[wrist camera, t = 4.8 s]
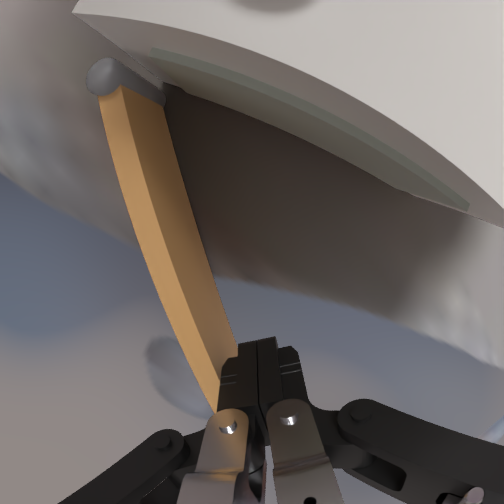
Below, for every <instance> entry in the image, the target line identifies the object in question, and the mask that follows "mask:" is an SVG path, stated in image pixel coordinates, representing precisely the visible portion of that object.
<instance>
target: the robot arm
mask: <svg viewBox="0 0 504 504" xmlns="http://www.w3.org/2000/svg"><path fill="white" fill-rule="evenodd" d="M269 445H271V451H272V457H273V463H274V469H273V478H274V484H275V490H276V496H277V502H278V504H344V501H343V498H342V495H341V492H340V489H339V486H338V484H337V480H336V477H335V474H334V471H333V468H342V469H343V470H344V471H345V472H346V473H348V474H350V475H352V476H353V477H355V478H357V479H359V480H361V481H362V482H365V483H366V484H368V485H370V486H372V487H374V488H376V489H378V490H380V491H382V492H384V493H386V494H388V495H390V496H392V497H394V498H396V499H398V500H401V501H403V502H405V503H407V504H504V446H502V445H498V444H495V443H491V442H488V441H484V440H481V439H478V438H474V437H471V436H468V435H465V434H462V433H458V432H456V431H453V430H450V429H447V428H444V427H441V426H438V425H435V424H433V423H430V422H427V421H424V420H422V419H419V418H416V417H414V416H411V415H408V414H406V413H403V412H401V411H398V410H396V409H393V408H391V407H388V406H385V405H383V404H381V403H379V402H376V401H374V400H370V399H358V400H354V401H351V402H349V403H347V404H346V405H345V406H343V407H342V409H341V410H340V411H328V410H322V409H319V408H317V407H315V406H314V405H312V404H311V403H310V401H309V399H308V396H307V391H306V386H305V382H304V378H303V373H302V368H301V364H300V360H299V355H298V352H297V351H296V350H295V349H294V348H292V346H288V347H283V348H278V344H277V340H276V337H275V336H274V337H270V338H265V339H260V340H256V341H250V342H245V343H240V344H238V356H237V357H231V358H228V359H227V360H226V362H225V363H224V365H223V366H222V370H221V378H220V387H219V395H218V404H217V412H216V413H215V414H214V415H213V416H212V417H211V418H210V419H209V420H208V422H207V425H206V428H205V429H203V430H201V431H198V432H196V433H192V434H189V435H186V436H182V435H181V433H179V432H178V431H176V430H172V429H164V430H160V431H158V432H156V433H154V434H152V435H151V436H150V437H149V438H147V439H146V440H145V441H144V442H143V443H141V444H140V445H138V446H137V447H136V448H135V449H133V450H132V451H131V452H129V453H128V454H127V455H126V456H124V457H123V458H122V459H120V460H119V461H118V462H117V463H115V464H114V465H112V466H111V467H110V468H108V469H107V470H106V471H104V472H103V473H102V474H100V475H99V476H97V477H96V478H95V479H93V480H92V481H90V482H89V483H87V484H86V485H85V486H83V487H82V488H80V489H79V490H77V491H76V492H75V493H73V494H72V495H70V496H69V497H67V498H66V499H64V500H63V501H61V502H59V503H58V504H265V489H266V469H267V462H266V459H265V446H269ZM163 480H164V481H163ZM162 481H163V482H162ZM161 482H162V483H161ZM157 485H158V486H157ZM156 486H157V487H156ZM151 490H152V491H151ZM150 491H151V492H150ZM146 494H147V495H146ZM145 495H146V496H145Z"/></svg>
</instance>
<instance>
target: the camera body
mask: <svg viewBox="0 0 504 504" xmlns="http://www.w3.org/2000/svg"><path fill="white" fill-rule="evenodd" d="M72 14H74V15H75V16H76V17H78V18H79V19H81V20H82V21H84V22H85V23H86V24H88V25H89V26H91V27H92V28H93V29H95V30H96V31H98V32H99V33H100V34H102V35H103V36H104V37H106V38H107V39H108V40H110V41H111V42H112V43H114V44H115V45H116V46H118V47H119V48H120V49H122V50H123V51H124V52H126V53H127V54H128V55H129V56H131V57H132V58H133V59H135V60H136V61H137V62H138V63H140V64H141V65H142V66H143V67H145V68H146V69H147V70H148V71H150V72H151V73H152V74H153V75H155V76H156V77H157V78H158V79H160V80H161V81H162V82H165V83H168V84H172V85H175V86H178V87H181V88H182V89H183V90H184V91H185V92H186V93H188V94H191V95H194V96H197V97H200V98H203V99H206V100H209V101H211V102H214V103H217V104H220V105H222V106H225V107H228V108H230V109H233V110H236V111H238V112H241V113H243V114H246V115H248V116H251V117H253V118H256V119H258V120H261V121H263V122H265V123H268V124H270V125H272V126H275V127H277V128H279V129H281V130H284V131H286V132H288V133H290V134H293V135H295V136H297V137H299V138H301V139H303V140H305V141H308V142H310V143H312V144H314V145H316V146H318V147H320V148H322V149H324V150H326V151H328V152H330V153H332V154H334V155H336V156H338V157H340V158H342V159H344V160H345V161H347V162H349V163H351V164H353V165H355V166H357V167H358V168H360V169H362V170H364V171H366V172H367V173H369V174H371V175H373V176H375V177H376V178H378V179H380V180H382V181H383V182H385V183H387V184H388V185H390V186H392V187H393V188H395V189H398V190H401V191H405V192H408V193H409V194H411V195H413V196H415V197H418V198H422V199H425V200H428V201H431V202H434V203H437V204H440V205H443V206H446V207H449V208H451V209H454V210H457V211H460V212H463V213H465V214H468V215H471V216H473V217H476V218H479V219H481V220H484V221H486V222H489V223H491V224H494V225H496V226H499V227H501V228H504V0H79V1H78V2H77V4H76V6H75V7H74V9H73V11H72Z"/></svg>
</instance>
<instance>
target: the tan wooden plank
mask: <svg viewBox="0 0 504 504" xmlns="http://www.w3.org/2000/svg"><path fill="white" fill-rule="evenodd" d="M86 84H87V88H88V89H89V91H90V92H91V93H93V94H96V95H97V96H98V101H99V105H100V110H101V114H102V119H103V123H104V127H105V131H106V135H107V139H108V143H109V147H110V151H111V155H112V159H113V162H114V166H115V169H116V173H117V176H118V180H119V183H120V187H121V190H122V193H123V196H124V200H125V203H126V206H127V209H128V212H129V215H130V218H131V221H132V224H133V227H134V230H135V233H136V236H137V239H138V242H139V245H140V247H141V250H142V253H143V256H144V258H145V261H146V264H147V266H148V269H149V272H150V274H151V277H152V279H153V282H154V284H155V287H156V289H157V292H158V294H159V297H160V299H161V302H162V304H163V307H164V309H165V311H166V314H167V316H168V318H169V321H170V323H171V325H172V327H173V330H174V332H175V334H176V337H177V339H178V341H179V343H180V345H181V348H182V350H183V352H184V354H185V356H186V358H187V360H188V363H189V365H190V367H191V369H192V371H193V373H194V375H195V377H196V379H197V381H198V383H199V385H200V387H201V389H202V391H203V393H204V395H205V397H206V399H207V400H208V402H209V404H210V406H211V408H212V410H213V412H214V414H215V413H216V412H217V404H218V395H219V387H220V378H221V370H222V366H223V365H224V363H225V362H226V360H227V359H228V358H231V357H237V356H238V348H237V345H236V342H235V339H234V337H233V333H232V331H231V328H230V325H229V322H228V319H227V317H226V313H225V311H224V308H223V305H222V302H221V299H220V296H219V293H218V290H217V287H216V284H215V281H214V278H213V275H212V272H211V269H210V266H209V263H208V260H207V257H206V254H205V251H204V247H203V244H202V241H201V238H200V235H199V232H198V228H197V225H196V222H195V219H194V216H193V212H192V209H191V206H190V202H189V199H188V196H187V192H186V189H185V186H184V182H183V179H182V175H181V172H180V168H179V165H178V161H177V158H176V154H175V151H174V147H173V143H172V140H171V136H170V132H169V129H168V125H167V121H166V118H165V114H164V110H163V108H164V106H165V103H166V96H165V94H164V93H163V92H162V91H161V90H160V89H158V88H157V87H155V86H154V85H152V84H151V83H150V82H148V81H147V80H145V79H144V78H142V77H141V76H140V75H138V74H137V73H135V72H134V71H132V70H131V69H129V68H128V67H126V66H125V65H123V64H122V63H120V62H119V61H117V60H116V59H114V58H103V59H101V60H99V61H97V62H96V63H95V64H94V65H93V66H92V67H91V68H90V70H89V72H88V74H87V78H86Z"/></svg>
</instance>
